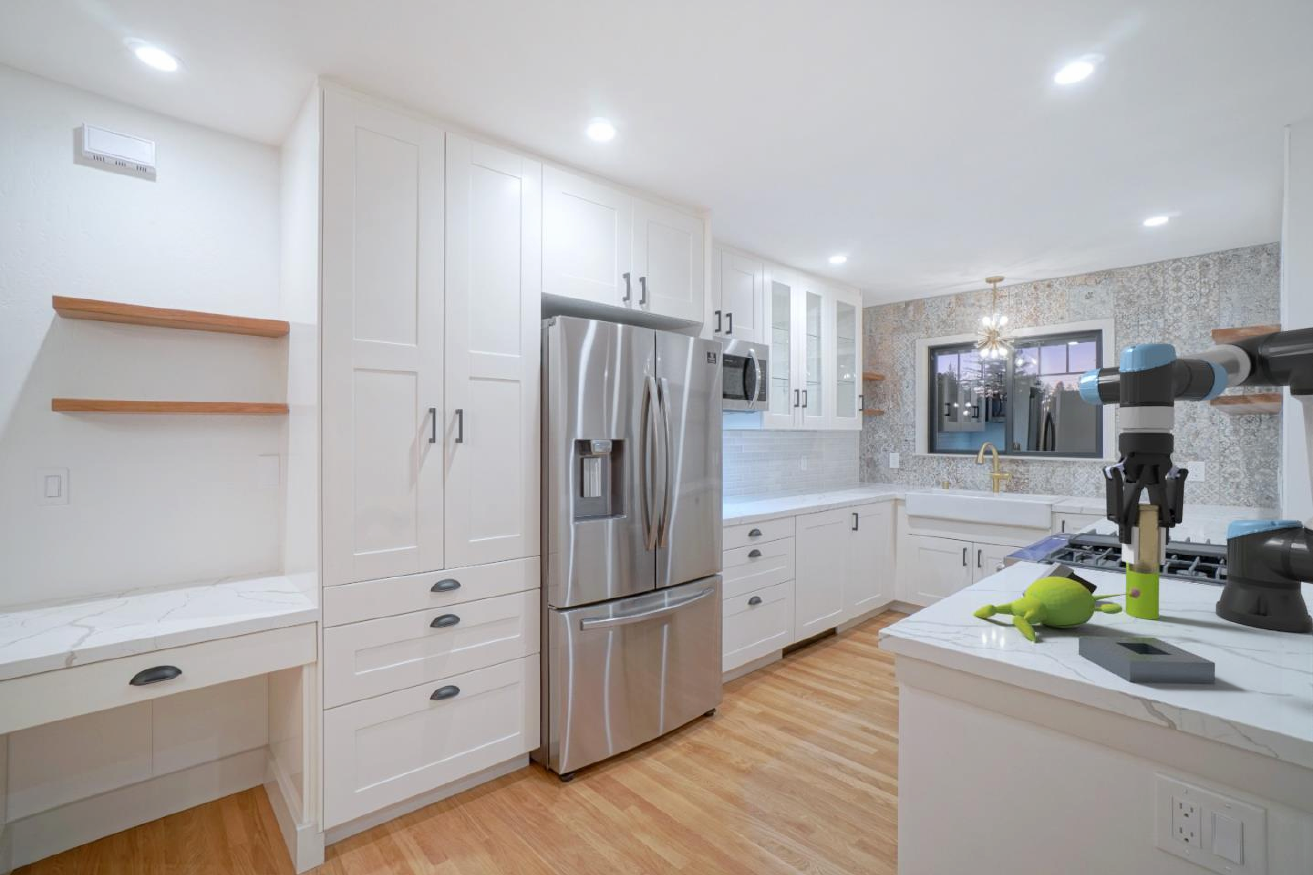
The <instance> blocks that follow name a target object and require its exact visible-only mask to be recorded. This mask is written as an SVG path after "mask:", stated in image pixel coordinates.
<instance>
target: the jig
mask: <svg viewBox="0 0 1313 875" xmlns="http://www.w3.org/2000/svg"><path fill="white" fill-rule="evenodd" d="M1078 655H1079V656H1080V655H1081V656H1080V657H1083V658H1085V659H1086V660H1089V661H1090V662H1092V663H1093V662H1094V663H1093V664H1095V663H1096V664H1095V665H1097V664H1098V665H1097V666H1099V667H1101V666H1102V667H1101V668H1102V669H1105V670H1106V671H1109V672H1111V673H1112V674H1114V673H1115V674H1114V675H1116V674H1117V675H1116V676H1118V677H1120V678H1122V679H1124V680H1125V681H1127V682H1130V683H1160V682H1169V683H1171V684H1172V683H1173V684H1210V685H1211V684H1213V685H1215V683H1216V682H1215V681H1216V677H1215V676H1216V662H1214V661H1211V660H1210V659H1207V658H1204V657H1203V656H1199V655H1198V654H1194V653H1193V652H1190V651H1187V650H1185V649H1182V648H1180V647H1178V646H1175V645H1174V644H1171V643H1169V642H1166V641H1163V640H1161V639H1159V638H1156V637H1145V636H1144V637H1143V636H1142V637H1137V636H1090V635H1086V636H1085V635H1084V636H1083V635H1081V636H1080V635H1079V636H1078ZM1169 683H1168V684H1169Z"/></svg>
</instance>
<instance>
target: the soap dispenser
mask: <svg viewBox="0 0 1313 875" xmlns="http://www.w3.org/2000/svg"><path fill="white" fill-rule="evenodd" d="M1125 565H1126V566H1125V569H1126V570H1125V594H1128V591H1129V589H1131V588H1136V589H1138V590H1139V591H1140V596H1139V597H1138V598H1132V597H1130V596H1129V594H1128V595H1125V614H1126V613H1127V614H1129V615H1128V616H1130V615H1131V617H1133V616H1135V617H1134V618H1137V617H1138V619H1142V618H1143V620H1152V619H1154V620H1158V619H1160V618H1159V614H1160V613H1159V612H1160V564H1158V574H1143V573H1137V572H1132V571H1129V570H1128V566H1129V563H1128V562H1125ZM1127 614H1126V615H1127Z"/></svg>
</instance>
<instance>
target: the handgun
mask: <svg viewBox="0 0 1313 875" xmlns="http://www.w3.org/2000/svg"><path fill="white" fill-rule="evenodd" d="M1046 577H1064V578H1068V579H1071V580H1074V581H1076V582H1079V583H1080V584H1082V585H1083V586H1084V587H1085V588H1087V589H1088V590H1089V591H1090V593H1091V594H1092V595H1093V594H1094V592H1095V591H1096V590H1097V589H1098V587H1097V586H1098V585H1096V584H1094V583H1093V582H1090V581H1089V580H1087V579H1085V578H1083V577H1081V576H1079V575H1077V574H1076V573H1075V569H1073V568H1071V567H1069V566H1067V565H1066V564H1063V563H1061V562H1057V561H1054V562H1053V563H1052V564H1051V566H1049V567H1048V568H1047V569H1046V570H1045V571H1044V572H1043V573H1042V574H1041V575H1039V577H1037V579H1036V580H1035V581H1037V580H1039V579H1042V578H1046ZM1027 589H1028V587H1027V588H1026V589H1025V590H1024V591H1023V592H1022V593H1021V594H1022V596H1023V597H1024V596H1025V592H1026V590H1027Z"/></svg>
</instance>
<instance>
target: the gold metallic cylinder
mask: <svg viewBox="0 0 1313 875" xmlns="http://www.w3.org/2000/svg"><path fill="white" fill-rule="evenodd" d="M1133 526H1134V527H1139V543H1138V564H1131V563H1129V566H1128V570H1129V571H1132V572H1137V573H1143V574H1158V536H1159V505H1155V504H1150V503H1143V502H1139V505H1138V509H1137V513H1136V518H1135V522H1134V525H1133Z"/></svg>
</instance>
